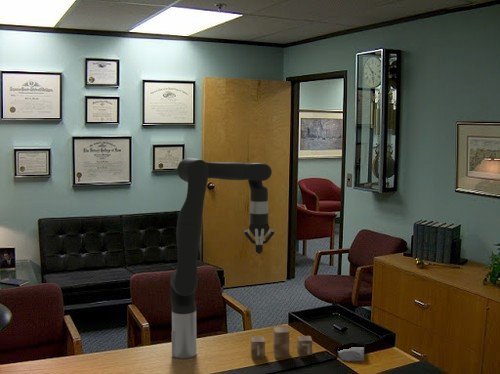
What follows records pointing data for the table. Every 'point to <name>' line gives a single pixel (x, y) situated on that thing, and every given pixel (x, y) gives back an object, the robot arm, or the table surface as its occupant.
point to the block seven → (304, 345)
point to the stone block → (352, 354)
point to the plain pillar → (281, 342)
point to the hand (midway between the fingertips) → (259, 253)
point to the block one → (257, 347)
